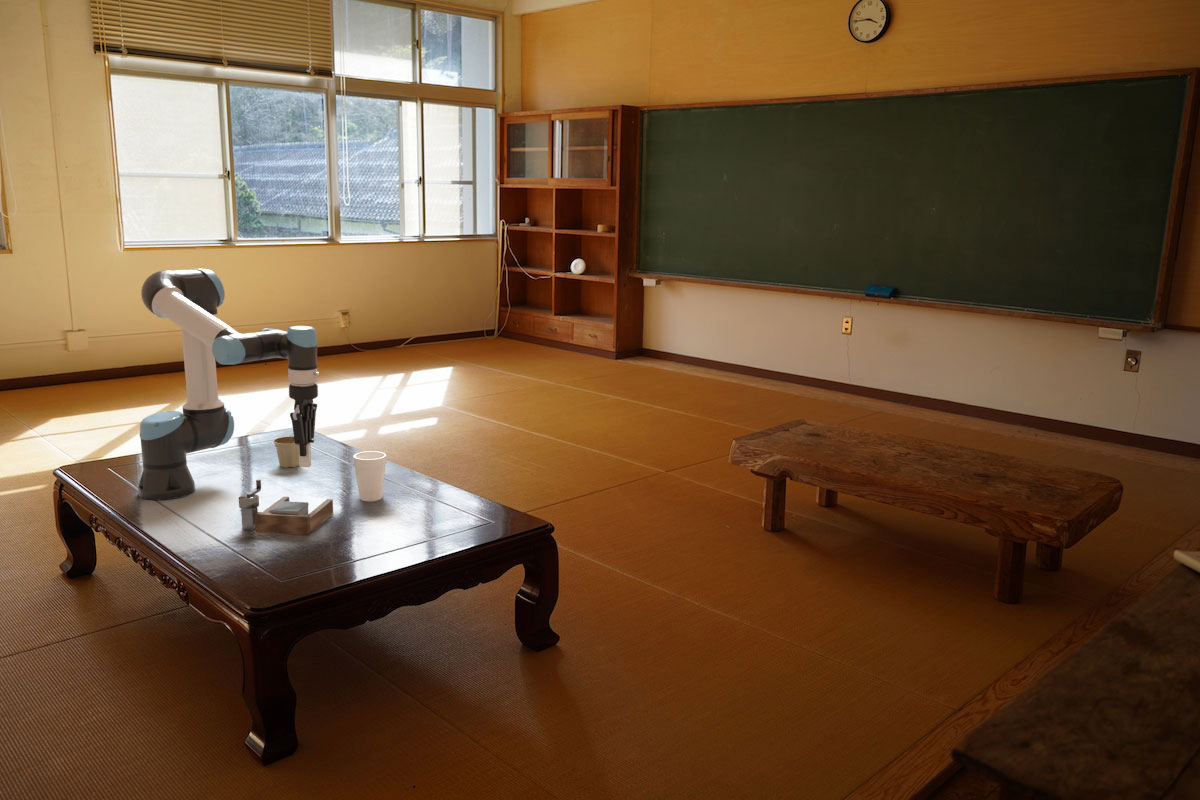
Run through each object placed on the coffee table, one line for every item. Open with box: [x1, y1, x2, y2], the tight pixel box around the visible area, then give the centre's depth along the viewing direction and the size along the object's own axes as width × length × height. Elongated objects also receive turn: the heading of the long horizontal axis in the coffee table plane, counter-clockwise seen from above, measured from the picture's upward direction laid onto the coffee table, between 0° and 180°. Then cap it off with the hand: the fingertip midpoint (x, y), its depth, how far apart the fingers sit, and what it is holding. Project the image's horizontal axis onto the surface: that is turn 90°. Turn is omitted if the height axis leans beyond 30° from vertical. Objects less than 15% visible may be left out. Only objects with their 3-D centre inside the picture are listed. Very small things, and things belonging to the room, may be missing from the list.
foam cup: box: [352, 450, 387, 502], centre depth 270 cm, size 10×9×13 cm
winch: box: [238, 479, 262, 531], centre depth 246 cm, size 5×9×11 cm, turn 175°
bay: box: [254, 496, 334, 536], centre depth 249 cm, size 14×18×5 cm
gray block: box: [271, 500, 310, 515], centre depth 245 cm, size 7×7×6 cm
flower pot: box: [272, 435, 299, 469], centre depth 301 cm, size 9×9×9 cm
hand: (305, 466), depth 256 cm, fingers closed
